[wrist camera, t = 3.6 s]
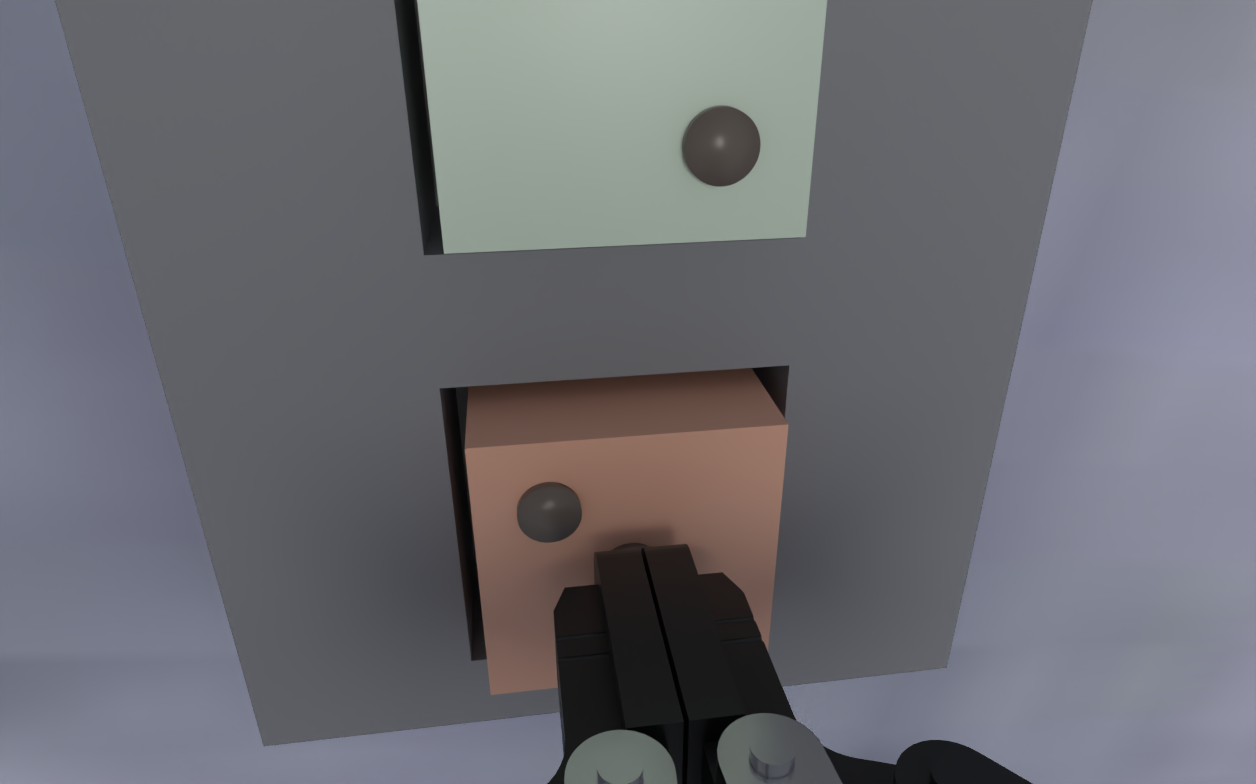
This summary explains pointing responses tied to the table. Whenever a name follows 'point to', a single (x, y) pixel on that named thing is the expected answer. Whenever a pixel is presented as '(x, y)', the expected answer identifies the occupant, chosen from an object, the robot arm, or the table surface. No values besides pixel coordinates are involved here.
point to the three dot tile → (615, 494)
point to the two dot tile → (621, 120)
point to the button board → (557, 330)
